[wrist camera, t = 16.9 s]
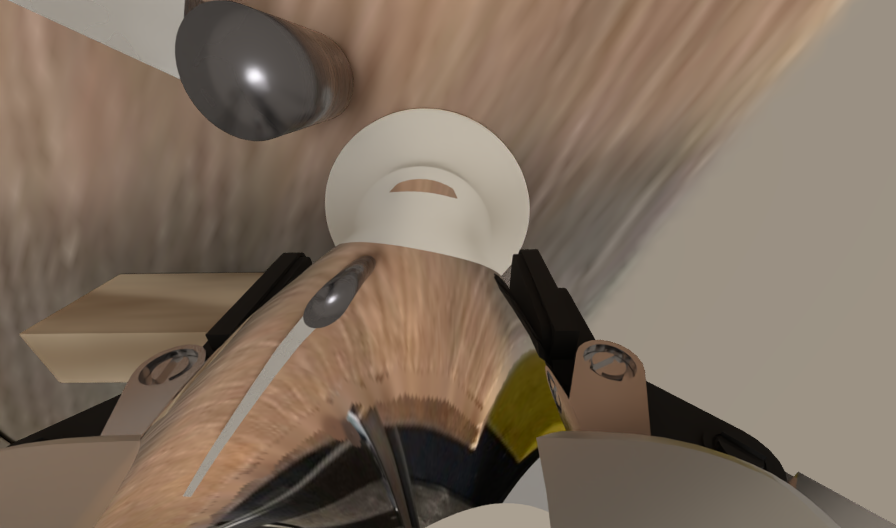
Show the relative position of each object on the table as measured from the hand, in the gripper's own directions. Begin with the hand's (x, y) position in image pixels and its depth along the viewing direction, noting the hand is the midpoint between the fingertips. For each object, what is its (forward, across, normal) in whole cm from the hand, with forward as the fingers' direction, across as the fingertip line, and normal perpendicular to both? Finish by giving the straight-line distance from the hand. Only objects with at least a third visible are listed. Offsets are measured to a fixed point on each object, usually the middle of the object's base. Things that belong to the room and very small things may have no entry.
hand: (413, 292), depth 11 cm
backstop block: (+7, +13, +5) cm, 15 cm away
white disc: (+7, 0, 0) cm, 7 cm away
